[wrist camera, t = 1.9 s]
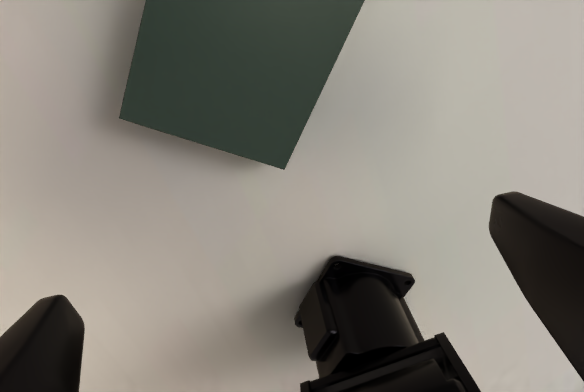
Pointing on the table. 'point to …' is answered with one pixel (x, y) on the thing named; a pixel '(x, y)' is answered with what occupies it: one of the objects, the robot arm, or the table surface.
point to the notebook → (235, 70)
